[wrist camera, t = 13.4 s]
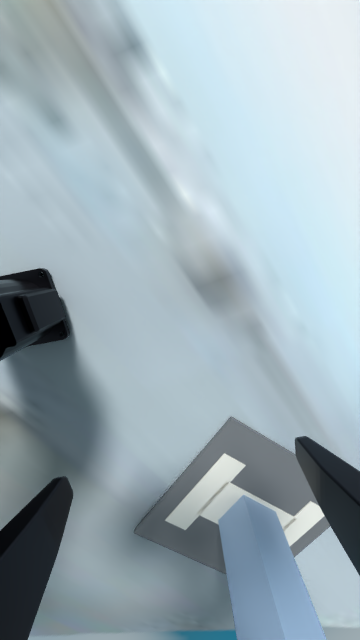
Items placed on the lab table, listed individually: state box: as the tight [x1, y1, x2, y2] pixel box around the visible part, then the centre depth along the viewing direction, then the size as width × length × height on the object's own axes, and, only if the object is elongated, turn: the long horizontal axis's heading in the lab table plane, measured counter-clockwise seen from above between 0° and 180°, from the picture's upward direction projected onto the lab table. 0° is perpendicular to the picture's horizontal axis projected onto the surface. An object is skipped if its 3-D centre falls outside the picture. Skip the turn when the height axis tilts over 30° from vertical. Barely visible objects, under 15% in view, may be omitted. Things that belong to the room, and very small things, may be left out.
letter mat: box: [134, 417, 330, 574], centre depth 26 cm, size 20×20×1 cm
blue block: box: [218, 495, 327, 640], centre depth 20 cm, size 5×5×13 cm
